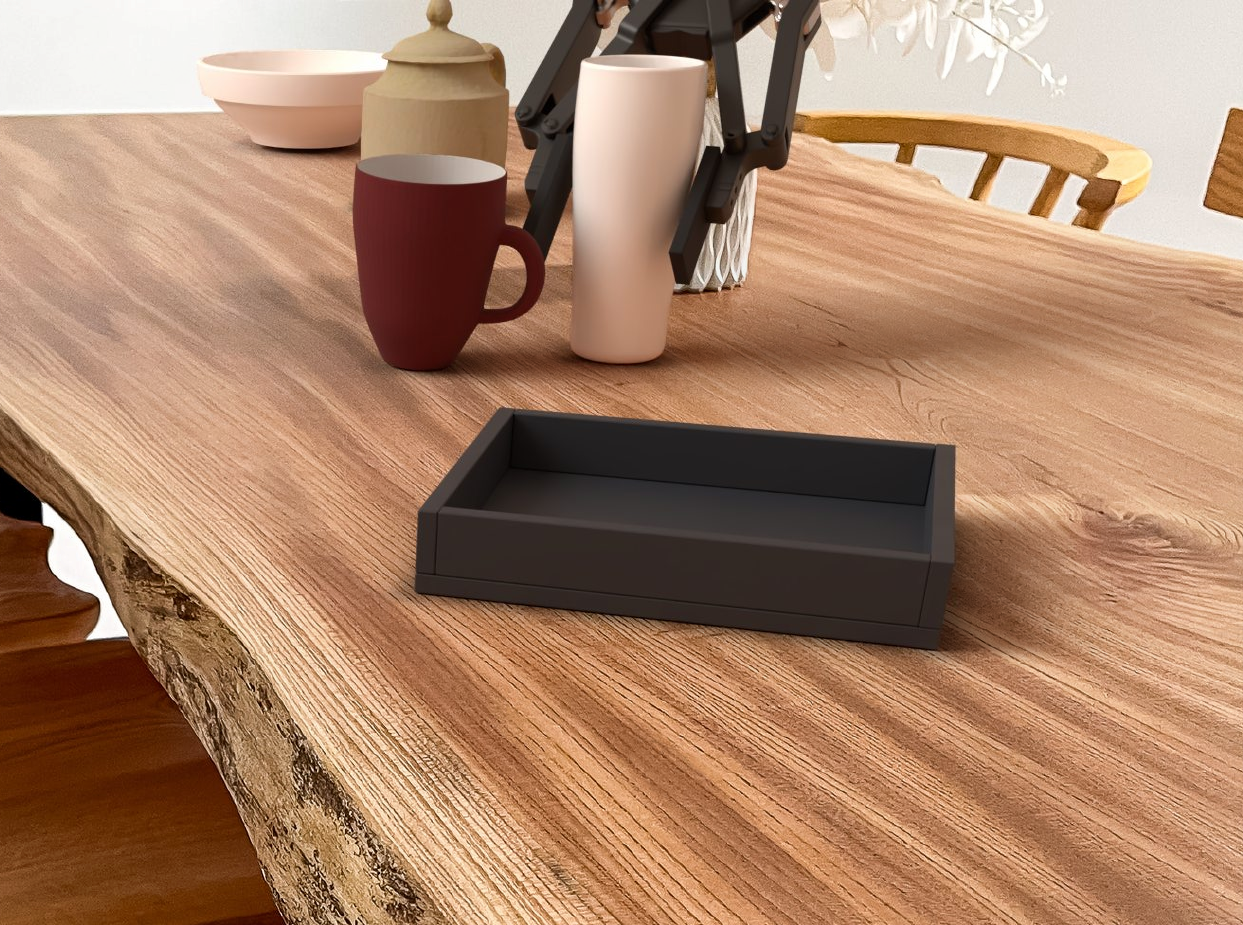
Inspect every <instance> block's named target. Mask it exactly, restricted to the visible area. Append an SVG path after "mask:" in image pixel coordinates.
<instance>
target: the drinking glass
mask: <svg viewBox="0 0 1243 925" xmlns="http://www.w3.org/2000/svg"><path fill="white" fill-rule="evenodd" d="M708 75H709V63H708V62H707V61H702V60H698V59H693V58H688V57H685V56H683V57H675V56H661V55H606V56H599V55H596V56H591V57H589V58H586V59H584V60H582V62H581V65H580V74H579V81H578V89H577V98H576V107H575V119H574V133H573V172H572V190H571V192H572V195H571V196H572V203H571V204H572V209H571V210H572V211H571V212H572V214H571V215H572V217H571V218H572V219H571V220H572V224H571V225H572V234H571V235H572V237H571V238H572V240H571V241H572V244H571V245H572V246H571V247H572V251H571V252H572V254H571V255H572V256H571V257H572V258H571V260H572V261H571V262H572V263H571V267H572V268H571V281H572V282H571V316H570V328H569V346H570V349H571V350H572V352H573V353H574V354H576V355H577V356H579V357H580V358H583V359H586V360H589V361H593V362H597V363H603V364H604V363H605V364H606V363H607V364H617V365H618V364H639V363H644V362H646V363H647V362H649V361H653V360H655V359H658V357H660V356H661V355H662V354H663V352H664V351H665V348H666V344H667V335H668V328H669V318H670V312H671V306H672V300H673V297H674V296H673V294H674V291H675V290H674V289H675V285H676V283H675V278H674V274H673V270H672V265H671V261H670V257H669V249H670V246H671V244H672V241H673V238H674V235H675V232H676V230H677V227H678V224H679V221H680V218H681V215H682V213H683V210H684V207H685V204H686V201H687V198H688V196H689V193H690V190H691V187H692V184H693V181H694V179H695V176H696V173H697V170H698V166H699V159H700V153H701V146H702V141H703V132H704V124H705V116H706V105H707V103H706V102H707V94H708V93H707V92H708Z"/></svg>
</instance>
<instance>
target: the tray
mask: <svg viewBox="0 0 1243 925" xmlns="http://www.w3.org/2000/svg"><path fill="white" fill-rule="evenodd" d="M956 446H957V445H956V444H948V443H947V444H946V443H931V442H922V441H921V442H920V441H909V440H896V439H886V438H885V439H884V438H872V437H859V436H848V435H837V434H836V435H835V434H826V433H824V434H823V433H813V432H803V431H802V432H801V431H791V430H790V431H789V430H777V429H765V428H755V427H754V428H752V427H742V426H741V427H740V426H730V425H720V424H719V425H718V424H705V423H693V422H682V421H670V420H658V419H645V418H634V417H624V416H623V417H622V416H612V415H611V416H610V415H600V414H599V415H598V414H587V413H586V414H585V413H577V412H576V413H575V412H563V411H551V410H550V411H549V410H540V409H539V410H538V409H527V408H515V407H506V406H505V407H504V406H500V407H498V408H497V410H496V411H495V412H494V413H493V415H492V416H491V417H490V418H489V419H488V421H487V422H486V423H485V424H484V426H483V428H482V429H481V430H480V431H479V433H478V434H477V435H476V436H475V438H474V439H473V440H472V441H471V443H470V444H469V445H468V446H467V448H466V449H465V450H464V452H463V453H462V454H461V455H460V456H459V458H458V459H457V460H456V462H455V463H454V464H453V466H452V467H451V468H450V469H449V471H447V473H446V474H445V475H444V477H443V478H442V480H441V481H440V482H439V483H438V484H437V486H436V487H435V489H434V490H433V491H432V492H431V493H430V495H429V496H428V497H427V499H426V500H425V501H424V502H423V504H421V506H420V507H419V509H418V510H417V519H416V520H417V523H416V544H415V563H414V564H415V565H414V571H415V573H414V585H413V586H414V590H413V591H414V593H419V594H426V595H427V594H429V595H436V596H444V597H446V596H447V597H454V598H455V597H456V598H466V599H472V600H480V601H481V600H482V601H491V602H500V603H510V604H519V605H528V606H537V607H546V608H554V609H564V610H573V611H581V612H590V613H599V614H600V613H601V614H609V615H618V616H626V617H636V618H646V619H655V620H663V621H672V622H673V621H674V622H681V623H682V622H683V623H690V624H700V625H708V626H709V625H710V626H716V627H717V626H719V627H726V628H737V629H744V630H745V629H746V630H753V631H762V632H763V631H764V632H771V633H772V632H773V633H782V634H789V635H800V636H808V637H817V638H827V639H836V640H845V641H853V642H862V643H873V644H882V645H890V646H891V645H892V646H899V647H910V648H917V649H927V650H937V649H938V648H939V643H940V637H941V633H942V628H943V624H944V618H945V612H946V608H947V602H948V598H949V594H950V593H949V592H950V588H951V583H952V578H953V573H954V569H955V568H954V567H955V544H956V543H955V539H956V536H955V534H956V465H957V464H956V462H957V461H956V459H957V458H956V457H957V456H956V453H957V450H956V449H957V447H956Z"/></svg>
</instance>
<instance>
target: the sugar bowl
mask: <svg viewBox="0 0 1243 925" xmlns="http://www.w3.org/2000/svg"><path fill="white" fill-rule="evenodd" d="M453 12H454V11H453V6H452V2H451V1H450V0H430V1H429V3H428V5H427V8H426V12H425V16H426V19H427V21H428V22H429V28H428V29H427V30H425V31H422V32H419V33H416V34H414V35H411V36H408V37H406V38H403V39H401V40H399V41H398V42H397V43H395V45H394V46H393V47H392V48H391V50H390V51H387V52H385V53H384V54H383V55H382V56H381V57H382V59H385V60H388V62H387V66H386V69H385V71H384V73H383V74H382V76H381V77H380V78H379V79H378V80H377V81H376V82H375V83H374V84H371V85H369V86H367V87H365V89H364V94H363V111H362V133H361V137H360V161H362V160H364V159H368V158H372V157H377V156H384V155H396V154H436V155H450V156H459V157H467V158H473V159H478V160H483V161H487V162H491V163H494V164H496V165H499V166H501V167H503V168H504V169H505V170H506V163H507V153H508V152H507V151H508V136H509V118H510V90H509V89H508V88H507V87H506V86H507V69H506V61H505V56H504V54H503V52H502V51H501V49H500V47H498V46H497V45H495V44H493V43H491V42H481V43H480V42H479V41H477V39H474V38H473V37H472V38H471V37H469V36H466V35H464V34H461V33H458V32H455V31H453V30H451V29H450V28H449V27H448V26H449V24H450V22H451V20H452V18H453V15H454V13H453Z"/></svg>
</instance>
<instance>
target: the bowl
mask: <svg viewBox="0 0 1243 925" xmlns="http://www.w3.org/2000/svg"><path fill="white" fill-rule="evenodd" d="M383 54H384V53H383V52H374V51H365V50H363V51H361V50H348V49H347V50H345V49H321V48H320V49H317V48H313V49H312V48H309V49H307V48H304V49H303V48H296V49H295V48H292V49H291V48H290V49H289V48H287V49H285V48H284V49H283V48H282V49H257V50H241V51H240V50H239V51H231V52H230V51H229V52H222V53H214V54H209V55H206V56H202V57H200V58H198V60H197V61H196V68H197V69H196V70H197V78H198V82H199V83H198V84H199V87H200V91H201V94H202V95H203V96H204V97H207V98H209V99H213V101H214V103H215V104H216V105H217V106H218V107H219V108H220V109H221V110H222V111H223V112H224V113H225V114H226V115H227V116H228V117H229V118H230V119H231V120H233V121H234V122H235V123H237V125H238V126H240V127H241V128H242V129H243V130H244V131H245V132H246V133H247V135H248V136H249V139H251V141H252V142H253V143H255V144H257V145H259V146H266V147H274V148H283V149H331V148H339V147H345V146H351V145H354V144H356V143H358V142H359V140H360V139H361V133H362V111H363V94H364V89H365V87H367V86H369V85H371V84H374V83H375V82H376V81H377V80H378V79H379V78H380V77H381V76H382V74H383V73H384V71H385V69H386V66H387V62H388V60H385V59H382V57H381V56H382V55H383Z"/></svg>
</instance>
